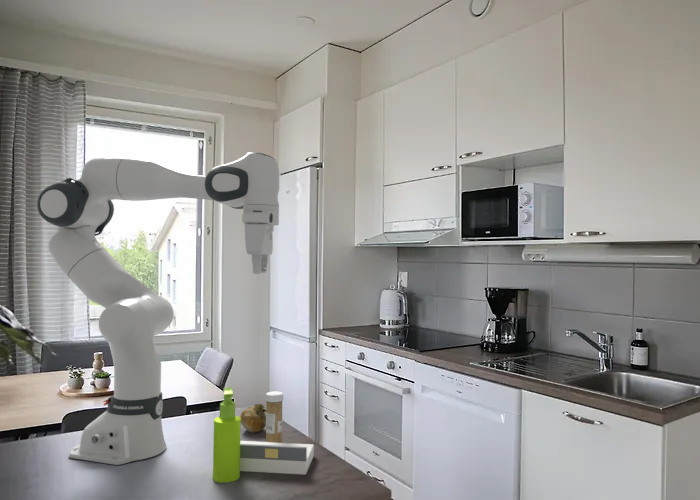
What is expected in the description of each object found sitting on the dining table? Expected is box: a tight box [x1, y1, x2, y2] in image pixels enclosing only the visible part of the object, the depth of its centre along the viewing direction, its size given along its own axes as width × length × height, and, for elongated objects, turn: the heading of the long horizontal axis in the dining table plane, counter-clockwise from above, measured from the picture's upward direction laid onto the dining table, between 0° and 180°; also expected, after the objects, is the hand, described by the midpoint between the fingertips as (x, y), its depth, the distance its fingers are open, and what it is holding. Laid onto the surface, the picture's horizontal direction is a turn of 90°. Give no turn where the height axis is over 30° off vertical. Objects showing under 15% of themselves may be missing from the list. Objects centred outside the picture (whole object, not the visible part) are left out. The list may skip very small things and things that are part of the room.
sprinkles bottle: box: [265, 390, 284, 443], centre depth 140 cm, size 5×5×13 cm
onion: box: [239, 403, 266, 434], centre depth 150 cm, size 8×8×8 cm
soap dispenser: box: [212, 387, 242, 484], centre depth 118 cm, size 6×7×20 cm
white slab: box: [240, 440, 315, 475], centre depth 127 cm, size 20×11×6 cm, turn 84°
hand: (260, 273), depth 132 cm, fingers open, 8 cm apart
